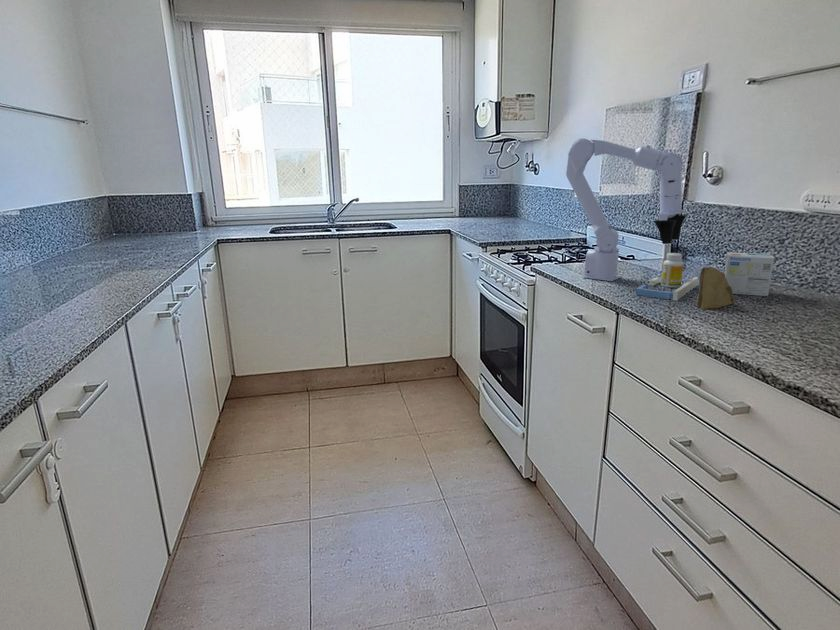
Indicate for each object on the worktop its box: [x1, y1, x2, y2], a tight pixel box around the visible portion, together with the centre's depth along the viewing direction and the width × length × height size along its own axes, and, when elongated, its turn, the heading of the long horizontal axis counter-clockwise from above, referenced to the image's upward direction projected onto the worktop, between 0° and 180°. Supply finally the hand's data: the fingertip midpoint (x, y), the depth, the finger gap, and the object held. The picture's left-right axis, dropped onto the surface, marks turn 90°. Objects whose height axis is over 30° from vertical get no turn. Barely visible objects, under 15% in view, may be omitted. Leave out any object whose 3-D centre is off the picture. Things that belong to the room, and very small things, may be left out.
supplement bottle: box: [660, 252, 685, 289], centre depth 149 cm, size 5×5×10 cm
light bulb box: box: [723, 251, 775, 297], centre depth 140 cm, size 11×7×11 cm, turn 65°
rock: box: [696, 266, 736, 310], centre depth 128 cm, size 11×9×10 cm
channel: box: [635, 276, 699, 302], centre depth 145 cm, size 11×21×2 cm, turn 139°
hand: (670, 241), depth 153 cm, fingers open, 7 cm apart
